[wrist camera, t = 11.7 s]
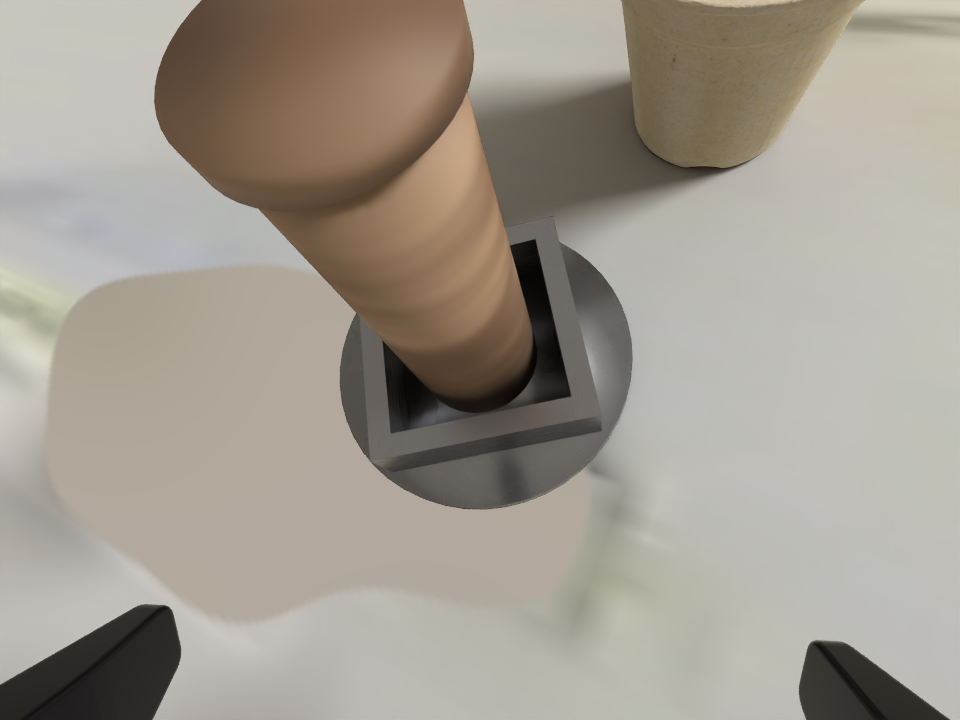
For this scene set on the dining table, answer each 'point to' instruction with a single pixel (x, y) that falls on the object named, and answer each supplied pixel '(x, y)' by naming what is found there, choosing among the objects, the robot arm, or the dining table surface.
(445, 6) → the brown tapered domed piece
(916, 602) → the dining table surface
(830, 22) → the flower pot
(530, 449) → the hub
